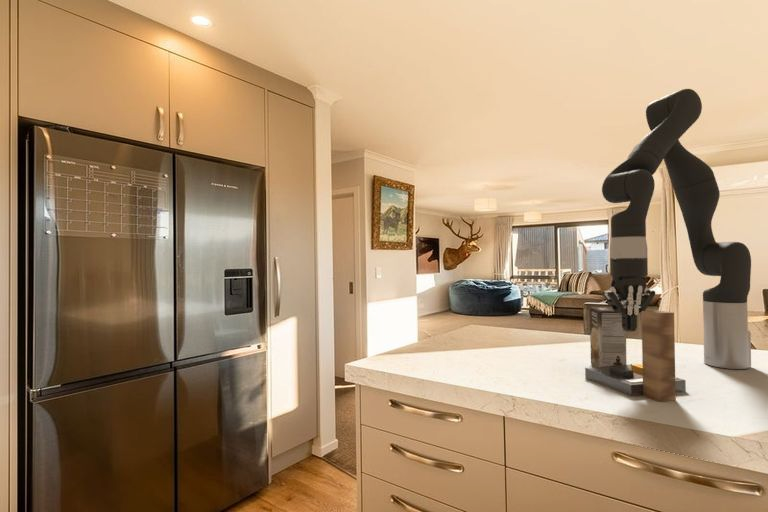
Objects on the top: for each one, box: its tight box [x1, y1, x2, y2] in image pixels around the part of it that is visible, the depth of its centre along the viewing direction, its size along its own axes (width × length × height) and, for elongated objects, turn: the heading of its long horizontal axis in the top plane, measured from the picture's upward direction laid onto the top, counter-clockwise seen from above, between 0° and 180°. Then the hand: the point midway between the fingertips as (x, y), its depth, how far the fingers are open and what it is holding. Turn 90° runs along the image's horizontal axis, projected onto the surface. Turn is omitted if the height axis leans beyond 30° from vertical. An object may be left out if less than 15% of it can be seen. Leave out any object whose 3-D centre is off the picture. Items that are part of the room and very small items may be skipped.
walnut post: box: [641, 309, 677, 403], centre depth 85 cm, size 4×4×18 cm
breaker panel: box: [584, 363, 687, 397], centre depth 94 cm, size 14×14×4 cm
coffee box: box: [589, 306, 627, 367], centre depth 107 cm, size 9×6×16 cm
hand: (629, 330), depth 95 cm, fingers closed
